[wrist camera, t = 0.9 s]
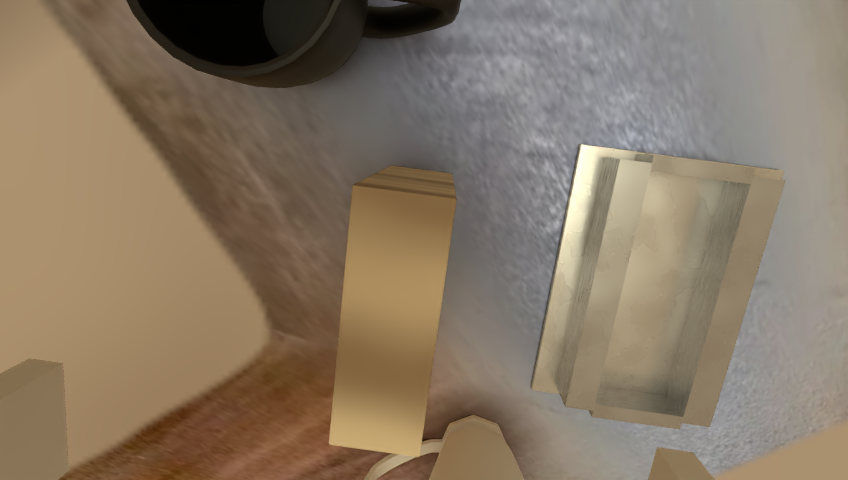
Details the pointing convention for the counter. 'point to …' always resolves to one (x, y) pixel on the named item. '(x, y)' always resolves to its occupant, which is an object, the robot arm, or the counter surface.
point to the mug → (279, 34)
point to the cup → (463, 454)
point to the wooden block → (391, 308)
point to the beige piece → (652, 283)
